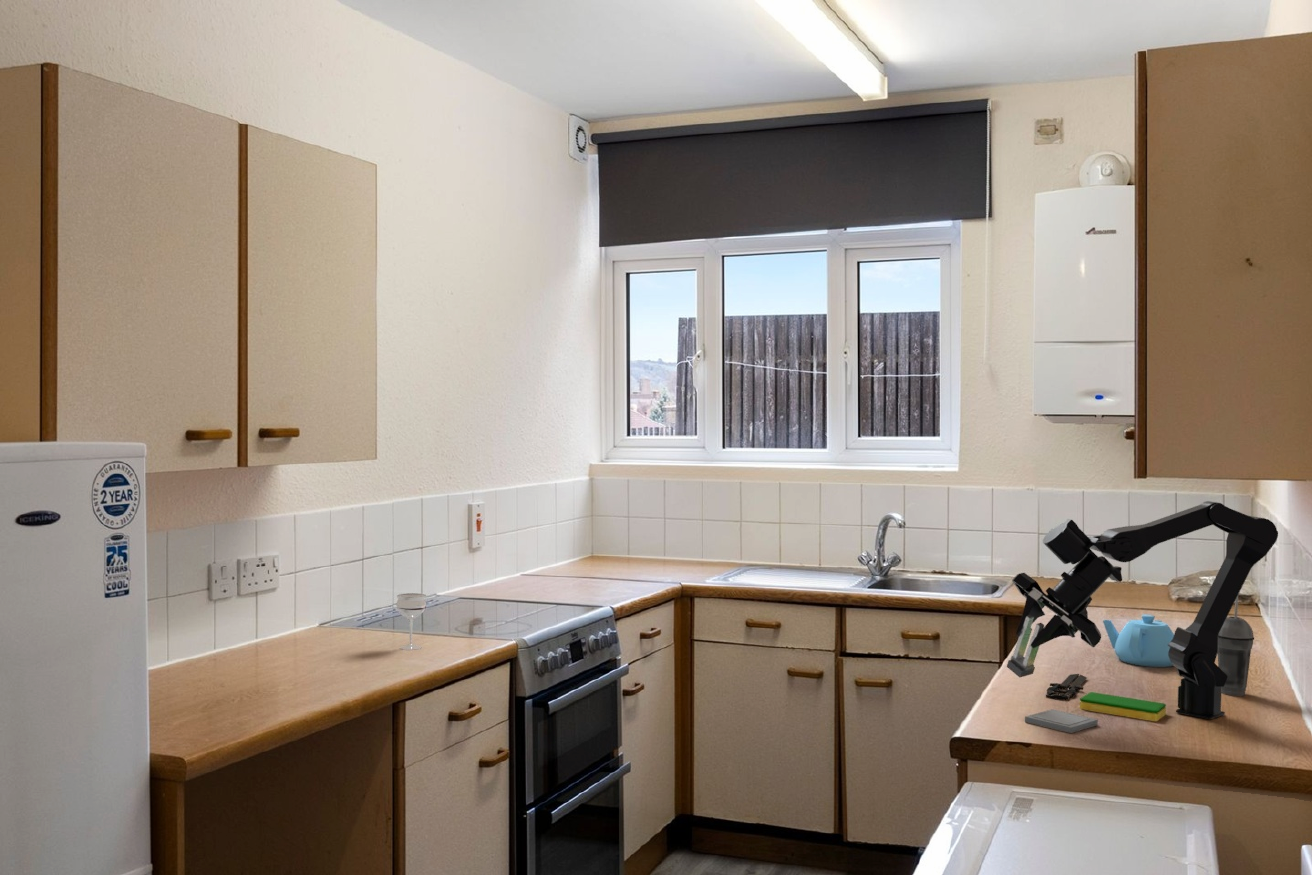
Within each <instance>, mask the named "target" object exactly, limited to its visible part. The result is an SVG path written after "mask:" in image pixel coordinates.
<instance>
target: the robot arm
mask: <svg viewBox="0 0 1312 875" xmlns="http://www.w3.org/2000/svg"><path fill="white" fill-rule="evenodd" d="M1210 526H1214V527H1215V528H1217V529H1219V530H1221V531H1223V532H1225V533H1227V537H1226V546H1225V547H1226V548H1225V550H1226V551H1225V557H1224V560H1223V562H1222V564H1221V566H1220V568H1219V569H1218V572H1217V573H1216V575H1215V578H1214V580H1213V582H1212V584H1211V586H1210V588H1209V589H1208V591H1207V594H1206V596H1205V598H1204V600H1203V602H1202V604H1201V606H1200V607H1199V609H1198V611H1197V614H1196V615H1195V618H1194V620H1193V622H1192V623H1191V624H1190V625H1189V626H1187V627H1186V628H1182V627H1179V626H1177V627H1176V629H1175V630H1174V633H1173V634H1174V637H1173V639H1172V640H1171V642H1170V643H1169V644H1168V646H1169V647H1170V649H1169V652H1168V656H1169V659H1170V662H1171V663H1172V664H1173V666H1174V667H1175V668H1176V671H1177V675H1178V676H1179V677H1182V678H1180V685H1178V687H1177V691H1178V692H1177V709H1175V713H1177V714H1181V715H1186V716H1192V717H1197V718H1201V719H1206V720H1213V719H1215V718H1216V719H1217V718H1219V717H1223V716H1225V714H1226V712H1225V711H1222V693H1221V687H1224V685H1225V683H1226V680H1227V675H1226V674H1225V673H1224V672H1223V671H1222V670H1221V669H1220V668H1219V667H1218V664H1216V661H1217V658H1218V654H1217V653H1218V635H1219V632H1220V630H1221V628H1222V626H1223V624H1224V622H1225V620H1226V618H1227V617H1229V614H1230V612H1231V610H1232V608H1233V606H1234V605H1235V600H1236V598H1237V596H1238V597H1239V594H1240V593H1241V591H1242V588H1243V586H1244V584H1245V582H1246V580H1247V577H1248V576H1249V574H1250V572H1251V570H1252V568H1253V567H1254V566H1255V565H1256V564H1257V563H1259V561H1261V560H1262V559H1263V558H1265V556H1266V555H1268V553H1269V552H1270V550H1271V549H1272V548H1273V547H1274V545H1275V544H1276V542H1277V540H1278V537H1279V531H1278V530H1277V527H1276V525H1275V523H1274V522H1273V521H1271V520H1270V519H1267V518H1264V517H1258V516H1253V515H1248V514H1245V513H1242V512H1240V511H1237V510H1235V509H1233V508H1230V507H1228V506H1226V505H1224V504H1223V503H1221V502H1217V501H1209V500H1207V501H1203V502H1201V504H1199V505H1195V506H1192V507H1189V508H1187V509H1184V510H1181V511H1178V512H1175V513H1173V514H1170V515H1166V516H1164V517H1161V518H1158V519H1156V520H1152V521H1150V522H1148V523H1147V522H1146V523H1143V524H1138V525H1136V524H1135V525H1126V526H1120V527H1114V528H1108V529H1106V530H1105V531H1103V532H1102V533H1101V534H1100V535H1094V536H1088V535H1086V534H1085V532H1084V531H1083V530H1082V529H1081V528H1080V527H1079V526H1078V524H1077V523H1076V522H1075V521H1074V520H1073V519H1070V518H1067V519H1066V520H1064V522H1061V523H1060V524H1058V525H1057V526H1055V527H1054V528H1051V529H1050V530H1049V531H1048V532H1047V533H1046V535H1044V536H1043V539H1042V544H1043V545H1044V546H1046V547H1047V549H1048V550H1050V552H1051V553H1052V554H1053V555H1054V556H1056V558H1057V559H1058V560H1060V562H1061V563H1062V564H1063V565H1068V564H1071V565H1074V567H1072V569H1071V570H1069V571H1068V572H1066V571H1063V572H1062V573H1061V574H1060V577H1061V580H1060V581H1058V583H1057V584H1056V585H1055V586H1054V587H1053V588H1051V587H1048V588H1047V589H1046V590H1045V592H1046V593H1045V592H1044V591H1043V589H1042V587H1041V586H1040V584H1039V583H1038V582H1037V580H1035V579H1033V578H1032V577H1031V576H1030V575H1028V574H1027V573H1026V572H1020V573H1018V574H1016V575H1015V576H1014V578H1012V579H1011V581H1012V583H1013V584H1014V586H1015V587H1016V589H1017V591H1018V592H1019V594H1021V595H1022V596H1023V597H1024V598H1025V602H1024V608H1023V611H1022V615H1021V618H1020V620H1019V623H1018V627H1017V628H1016V632H1015V635H1016V636H1017V637H1018V638H1019V636H1020V633H1021V629H1022V628H1023V625H1024V622H1025V619H1026V616H1029V615H1032V616H1033V617H1034V619H1033V622H1032V625H1033V624H1034V622H1035V621H1037V619H1038V618H1040V617H1044V616H1046V613H1045V612H1044V610H1043V609H1044V608H1045V607H1046V608H1047V609H1049V610H1050V611H1052V612H1053V613H1054V615H1053V616H1052V617H1051V618H1050V620H1049V621H1048V622H1047V624H1045V625H1044V628H1043V629H1042V630H1041V632H1040V633H1039V634H1038V635H1037V636H1036V637H1035V639H1034V640H1033V642H1032V643H1031V647H1032V648H1035V647H1037V646H1039V645H1040V646H1042V645H1044V644H1046V643H1048V642H1050V641H1052V640H1054V639H1057V638H1060V637H1071V638H1073V639H1074V638H1075V637H1076V634H1077V633H1078V632H1080V640H1082V641H1083V642H1085V643H1086V644H1087V645H1089V646H1090V647H1092V648H1095V647H1096V646H1097V645H1098V644H1099V643H1100V641H1101V639H1102V632H1101V631H1100V630H1099V628H1098V627H1097V625H1096V623H1095V622H1094V621H1092V620H1091V619H1090V618H1088V615H1089V614H1088V610H1087V608H1088V606H1089V605H1090V604H1091V602H1092V601H1093V598H1092V595H1093V594H1094V593H1095V592H1096V591H1098V589H1099V588H1100V587H1101V586H1102V585H1103V584H1104V583H1105V581H1107V580H1108V579H1110V580H1111V581H1114V582H1119V583H1121V582H1122V581H1123V576H1122V567H1121V566H1116V565H1113V564H1112V563H1111V562H1110V561H1109V560H1108V559H1111V560H1113V561H1115V562H1116V561H1117V562H1120V563H1130V562H1132V561H1134V560H1135V559H1137V558H1139V557H1141V556H1142V555H1145V554H1146V553H1147V552H1149V551H1150V550H1151V549H1152V548H1153V547H1155V546H1157V545H1159V544H1162V543H1165V542H1168V541H1170V540H1172V539H1173V540H1174V539H1175V538H1179V537H1181V536H1184V535H1188V534H1190V533H1193V532H1196V531H1199V530H1202V529H1204V528H1207V527H1210ZM1093 550H1094V551H1096V552H1100V554H1102V555H1101V556H1098V555H1097V554H1096V553H1095V552H1094V551H1093ZM1107 558H1108V559H1107ZM1040 646H1039V647H1040Z"/></svg>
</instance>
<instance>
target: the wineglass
mask: <svg viewBox="0 0 1312 875" xmlns="http://www.w3.org/2000/svg"><path fill="white" fill-rule="evenodd" d="M426 596H427V595H426V594H425V593H416V592H415V593H413V592H409V593H399V594H397V595H396V598H397V601H396V603H395V604H396V606H395V607H396V610H397V611H398V613H399V614H400V615H401V616H403V617H404V618H407V621H409V623H408V624H409V643H408V644H405V645H402V646H399V649H401V650H404V651H405V650H406V651H407V650H408V651H409V650H410V651H411V650H412V651H413V650H420V649H421V648H422V646H420V645H417V644H415V643H412V642H413V640H412V639H413V623H414V622H413V621H414V620H415V619H416V618H417V617H420V616H421V615H422V614H423V612H425V610H426V608H427V602H426Z"/></svg>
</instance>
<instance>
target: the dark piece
mask: <svg viewBox="0 0 1312 875" xmlns="http://www.w3.org/2000/svg"><path fill="white" fill-rule="evenodd" d="M1087 679H1088V677H1086V676H1085V675H1083V674H1080V673H1073V674H1069V675H1068V676H1067V677H1066V678H1065V679H1064V680H1063V681H1062V682H1060V683H1057V682H1056V683H1055V682H1054V683H1053V682H1050V683H1049V687H1047V690H1046V694H1045V698H1046V699H1052V700H1061V701H1069V700H1070V699H1069V698H1071V699H1073V698H1074V697H1075V696H1076V695H1077V693H1083V691H1084V686H1081V685H1082V684H1084V682H1085V681H1086V680H1087ZM1067 688H1068V689H1067ZM1069 695H1071V697H1069Z"/></svg>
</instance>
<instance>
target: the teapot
mask: <svg viewBox="0 0 1312 875" xmlns="http://www.w3.org/2000/svg"><path fill="white" fill-rule="evenodd" d="M1155 618H1156V617H1155V615H1153V614H1141V619H1131V620H1129V621H1128V622H1127V623H1126V624H1125V625H1124V627H1123V628H1122V629H1121V631H1120V632H1118V630H1117V628H1116V627H1115V626H1114V624H1113V622H1112V620H1111V619H1103V620H1102V624H1103V625H1104V628H1105V630H1106V633H1107V636H1108V639H1109V642H1110V643H1111V644H1110V645H1111V647H1112V649H1113V650H1114V653H1115V655H1116V656H1117V658H1118V659H1119V661H1121V662H1123V663H1126V662H1127V664H1129V663H1130V665H1134V664H1135V665H1134V666H1141V667H1151V668H1154V667H1155V668H1168V667H1172V666H1173V664H1172V663H1171V662H1170V659H1169V656H1168V652H1169V649H1170V647H1169V646H1168V644H1169V643H1170V642H1171V640H1172V639H1173V637H1174V634H1175V633H1174V632H1173V631H1172V629H1171V627H1170V626H1169V624H1168V623H1166V622H1163V621H1162V620H1155Z"/></svg>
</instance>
